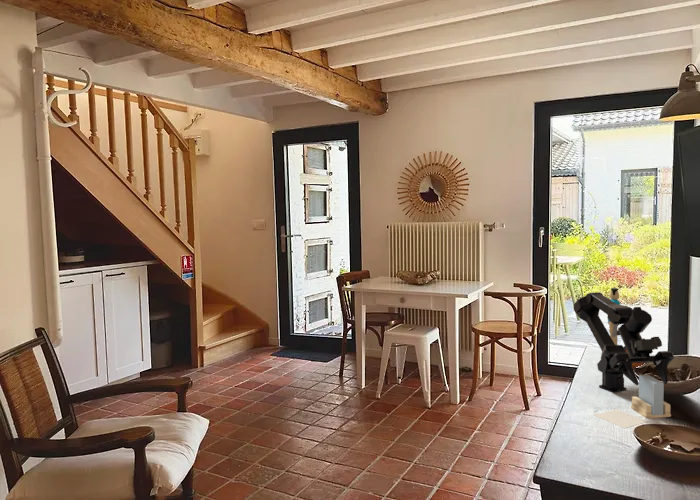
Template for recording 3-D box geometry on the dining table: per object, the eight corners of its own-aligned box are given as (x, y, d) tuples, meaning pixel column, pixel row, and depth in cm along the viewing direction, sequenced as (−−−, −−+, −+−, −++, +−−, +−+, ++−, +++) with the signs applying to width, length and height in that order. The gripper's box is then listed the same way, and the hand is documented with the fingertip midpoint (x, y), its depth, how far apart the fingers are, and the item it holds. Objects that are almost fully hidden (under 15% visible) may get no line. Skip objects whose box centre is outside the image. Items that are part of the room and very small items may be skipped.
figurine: (621, 365, 218) (622, 291, 215) (604, 362, 221) (604, 290, 218) (627, 354, 231) (628, 285, 228) (610, 352, 234) (611, 284, 232)
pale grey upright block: (638, 405, 174) (639, 375, 173) (647, 404, 174) (648, 374, 173) (653, 415, 166) (654, 383, 165) (663, 414, 166) (663, 383, 165)
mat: (593, 415, 169) (593, 414, 169) (616, 410, 173) (616, 409, 173) (624, 429, 159) (624, 428, 159) (647, 422, 163) (647, 421, 163)
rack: (630, 408, 174) (631, 396, 173) (655, 407, 174) (655, 395, 174) (645, 418, 166) (645, 406, 165) (670, 417, 166) (671, 404, 166)
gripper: (614, 328, 172) (633, 373, 162) (671, 326, 172) (694, 371, 163) (601, 346, 180) (619, 390, 170) (656, 343, 181) (676, 387, 171)
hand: (652, 384), depth 168 cm, fingers open, 9 cm apart
